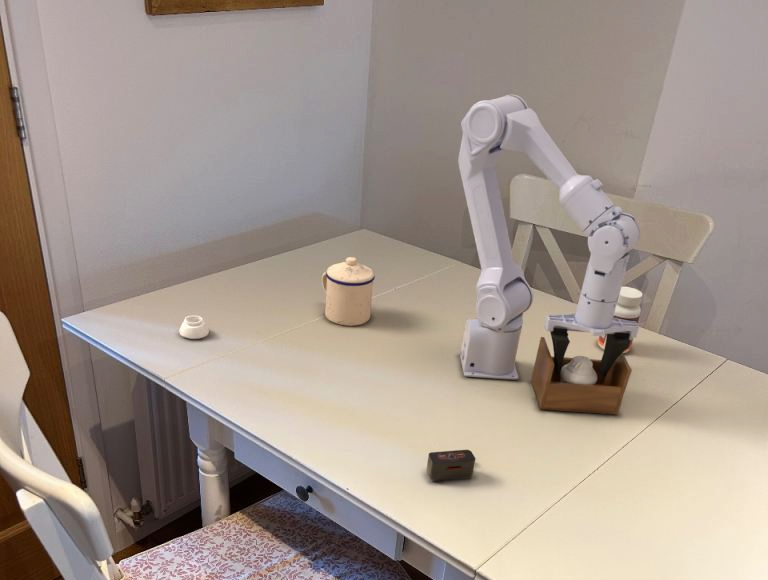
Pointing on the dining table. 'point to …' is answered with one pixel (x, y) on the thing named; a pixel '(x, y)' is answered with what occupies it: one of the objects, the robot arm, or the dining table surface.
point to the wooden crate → (578, 386)
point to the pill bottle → (626, 310)
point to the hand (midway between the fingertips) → (579, 371)
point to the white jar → (193, 328)
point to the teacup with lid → (348, 292)
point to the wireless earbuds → (450, 465)
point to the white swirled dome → (578, 371)
